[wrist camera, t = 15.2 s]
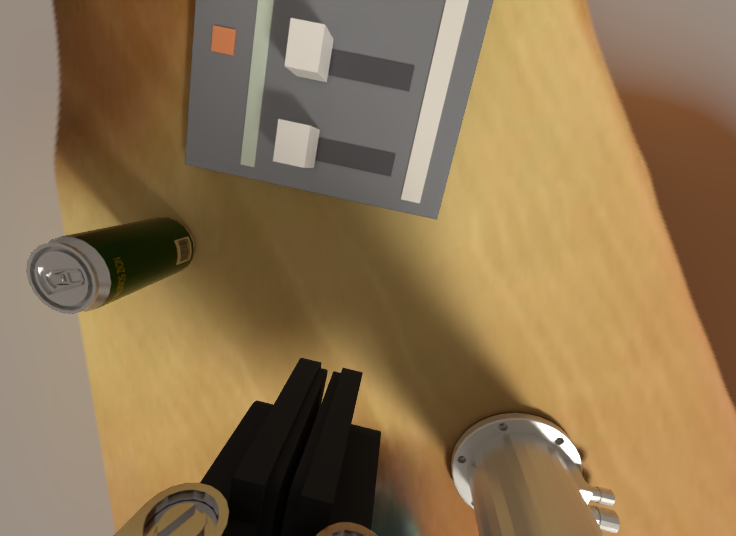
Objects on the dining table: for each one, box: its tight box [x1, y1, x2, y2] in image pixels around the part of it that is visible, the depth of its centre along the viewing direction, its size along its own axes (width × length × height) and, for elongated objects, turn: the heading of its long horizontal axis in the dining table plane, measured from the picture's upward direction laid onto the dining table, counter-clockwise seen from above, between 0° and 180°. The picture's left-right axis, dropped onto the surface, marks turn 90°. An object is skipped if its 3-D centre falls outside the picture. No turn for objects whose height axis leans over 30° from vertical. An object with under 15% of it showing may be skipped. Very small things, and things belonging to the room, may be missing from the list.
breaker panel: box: [185, 0, 493, 220], centre depth 28 cm, size 22×20×5 cm
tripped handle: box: [284, 18, 334, 82], centre depth 27 cm, size 2×3×3 cm
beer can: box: [27, 217, 195, 314], centre depth 30 cm, size 5×5×12 cm
